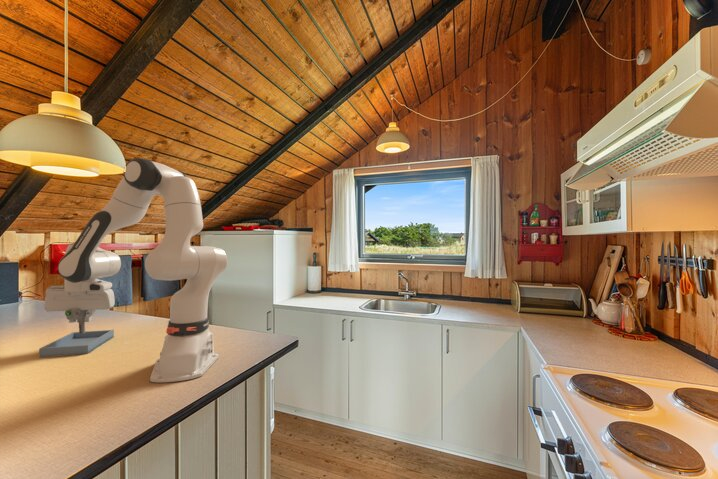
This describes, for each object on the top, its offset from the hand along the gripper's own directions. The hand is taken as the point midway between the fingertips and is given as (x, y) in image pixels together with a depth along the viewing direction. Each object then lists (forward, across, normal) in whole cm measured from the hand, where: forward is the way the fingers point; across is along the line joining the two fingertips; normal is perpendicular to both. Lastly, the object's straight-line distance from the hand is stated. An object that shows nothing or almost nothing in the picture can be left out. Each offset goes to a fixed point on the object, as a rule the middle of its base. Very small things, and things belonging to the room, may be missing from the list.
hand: (80, 321), depth 110 cm
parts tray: (+9, 0, 0) cm, 9 cm away
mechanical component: (+5, 0, 0) cm, 5 cm away
